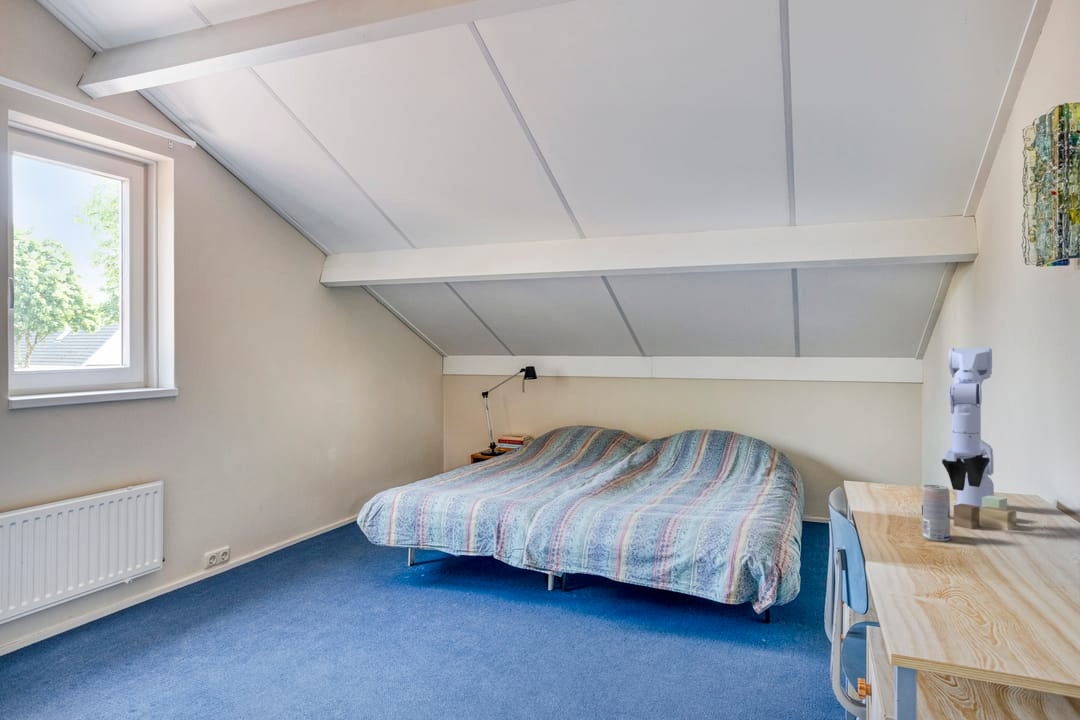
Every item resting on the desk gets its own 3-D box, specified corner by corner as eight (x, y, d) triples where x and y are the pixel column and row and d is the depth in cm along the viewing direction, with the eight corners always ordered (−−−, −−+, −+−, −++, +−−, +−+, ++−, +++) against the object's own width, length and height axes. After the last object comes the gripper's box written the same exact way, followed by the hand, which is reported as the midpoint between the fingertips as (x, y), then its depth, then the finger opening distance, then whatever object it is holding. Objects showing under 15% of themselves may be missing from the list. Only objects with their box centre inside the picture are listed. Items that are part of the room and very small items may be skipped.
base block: (989, 521, 165) (989, 505, 165) (1016, 526, 160) (1016, 510, 160) (980, 524, 163) (979, 508, 163) (1007, 529, 158) (1007, 512, 158)
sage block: (989, 516, 170) (989, 495, 170) (1007, 519, 167) (1007, 498, 167) (981, 518, 168) (981, 497, 168) (999, 522, 165) (999, 499, 165)
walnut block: (962, 525, 164) (962, 503, 164) (979, 529, 161) (979, 506, 161) (953, 527, 162) (953, 505, 162) (971, 531, 159) (971, 508, 159)
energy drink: (948, 537, 154) (947, 485, 154) (951, 543, 149) (951, 489, 149) (921, 534, 156) (921, 484, 156) (924, 540, 151) (923, 488, 151)
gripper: (963, 428, 169) (964, 482, 169) (932, 432, 161) (933, 488, 161) (994, 431, 163) (995, 486, 163) (963, 435, 155) (964, 493, 155)
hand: (966, 488), depth 161 cm, fingers open, 7 cm apart
